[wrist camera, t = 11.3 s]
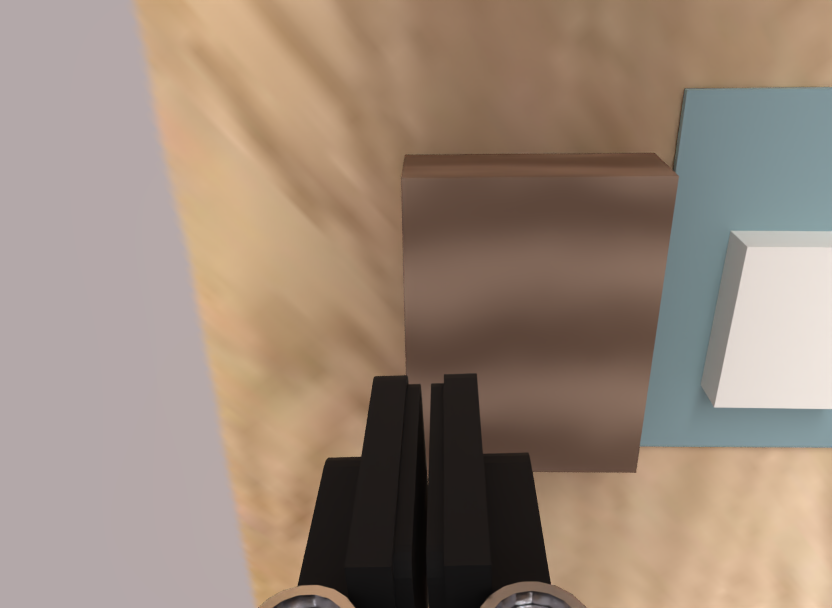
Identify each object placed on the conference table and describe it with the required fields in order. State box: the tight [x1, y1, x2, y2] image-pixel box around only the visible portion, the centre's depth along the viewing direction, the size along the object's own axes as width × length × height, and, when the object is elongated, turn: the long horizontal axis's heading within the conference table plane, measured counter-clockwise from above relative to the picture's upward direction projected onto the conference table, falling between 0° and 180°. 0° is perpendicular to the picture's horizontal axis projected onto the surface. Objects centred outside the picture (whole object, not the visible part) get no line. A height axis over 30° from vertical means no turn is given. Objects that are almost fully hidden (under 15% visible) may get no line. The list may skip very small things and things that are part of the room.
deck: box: [401, 153, 679, 473], centre depth 37 cm, size 16×12×4 cm
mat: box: [640, 87, 832, 448], centre depth 38 cm, size 20×13×1 cm, turn 1°
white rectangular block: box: [701, 231, 832, 409], centre depth 37 cm, size 9×7×2 cm
